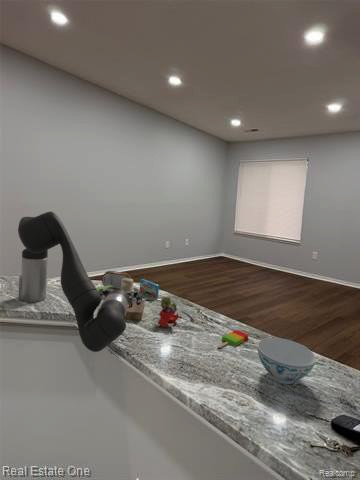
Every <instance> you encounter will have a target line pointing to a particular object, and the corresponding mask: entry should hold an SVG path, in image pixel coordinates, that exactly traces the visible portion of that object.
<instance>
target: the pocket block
mask: <svg viewBox="0 0 360 480" xmlns="http://www.w3.org/2000/svg"><path fill="white" fill-rule="evenodd" d="M144 309H145V299H142V302H141V304H140V305H137V304H136V302H132V303H131V308H128V311H127V313H126V315H125V316H124V320H129V321H130V320H131V321H142V319H143V315H144Z"/></svg>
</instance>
